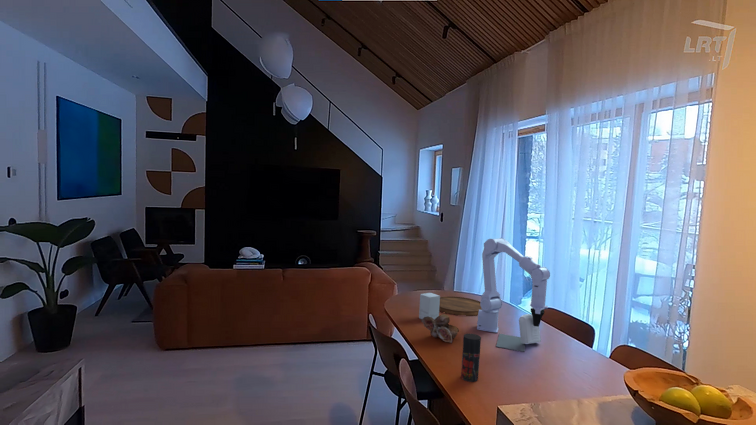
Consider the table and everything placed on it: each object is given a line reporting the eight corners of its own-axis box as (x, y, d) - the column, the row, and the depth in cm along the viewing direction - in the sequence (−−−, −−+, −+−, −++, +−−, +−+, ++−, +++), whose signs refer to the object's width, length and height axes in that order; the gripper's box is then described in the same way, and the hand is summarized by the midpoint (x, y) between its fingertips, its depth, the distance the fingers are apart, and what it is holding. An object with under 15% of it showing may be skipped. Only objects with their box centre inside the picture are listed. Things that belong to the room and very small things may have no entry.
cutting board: (476, 320, 211) (477, 316, 211) (420, 308, 228) (421, 303, 228) (495, 307, 239) (495, 302, 238) (443, 297, 255) (444, 292, 255)
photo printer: (534, 341, 185) (530, 313, 188) (542, 342, 182) (539, 313, 184) (519, 343, 179) (516, 314, 182) (528, 344, 176) (524, 314, 179)
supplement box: (439, 320, 208) (440, 295, 207) (428, 322, 204) (429, 297, 203) (429, 316, 214) (430, 292, 213) (418, 318, 210) (419, 293, 209)
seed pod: (416, 317, 189) (426, 317, 175) (448, 309, 193) (460, 308, 179) (424, 346, 187) (434, 348, 173) (456, 337, 191) (469, 339, 177)
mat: (496, 347, 176) (496, 346, 176) (499, 334, 192) (499, 333, 192) (524, 352, 172) (524, 351, 172) (525, 338, 188) (525, 338, 188)
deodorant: (458, 374, 148) (461, 333, 147) (474, 374, 149) (477, 333, 148) (463, 381, 142) (466, 339, 141) (480, 382, 143) (483, 339, 142)
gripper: (549, 300, 170) (546, 332, 171) (548, 292, 184) (545, 322, 185) (531, 298, 173) (528, 329, 174) (531, 290, 186) (529, 319, 187)
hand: (536, 325), depth 179 cm, fingers closed
